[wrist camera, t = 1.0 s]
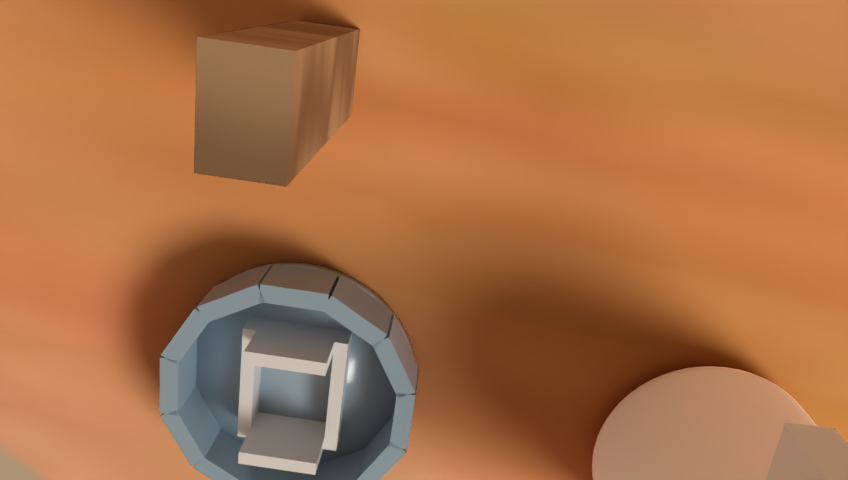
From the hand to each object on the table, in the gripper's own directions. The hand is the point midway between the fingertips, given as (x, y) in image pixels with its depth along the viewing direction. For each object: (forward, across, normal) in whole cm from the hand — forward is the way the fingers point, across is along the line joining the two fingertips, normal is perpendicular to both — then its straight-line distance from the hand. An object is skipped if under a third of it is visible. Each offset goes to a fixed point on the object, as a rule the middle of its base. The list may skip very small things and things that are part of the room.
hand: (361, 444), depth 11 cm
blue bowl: (+18, -5, -10) cm, 22 cm away
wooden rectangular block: (+19, -4, +3) cm, 19 cm away
